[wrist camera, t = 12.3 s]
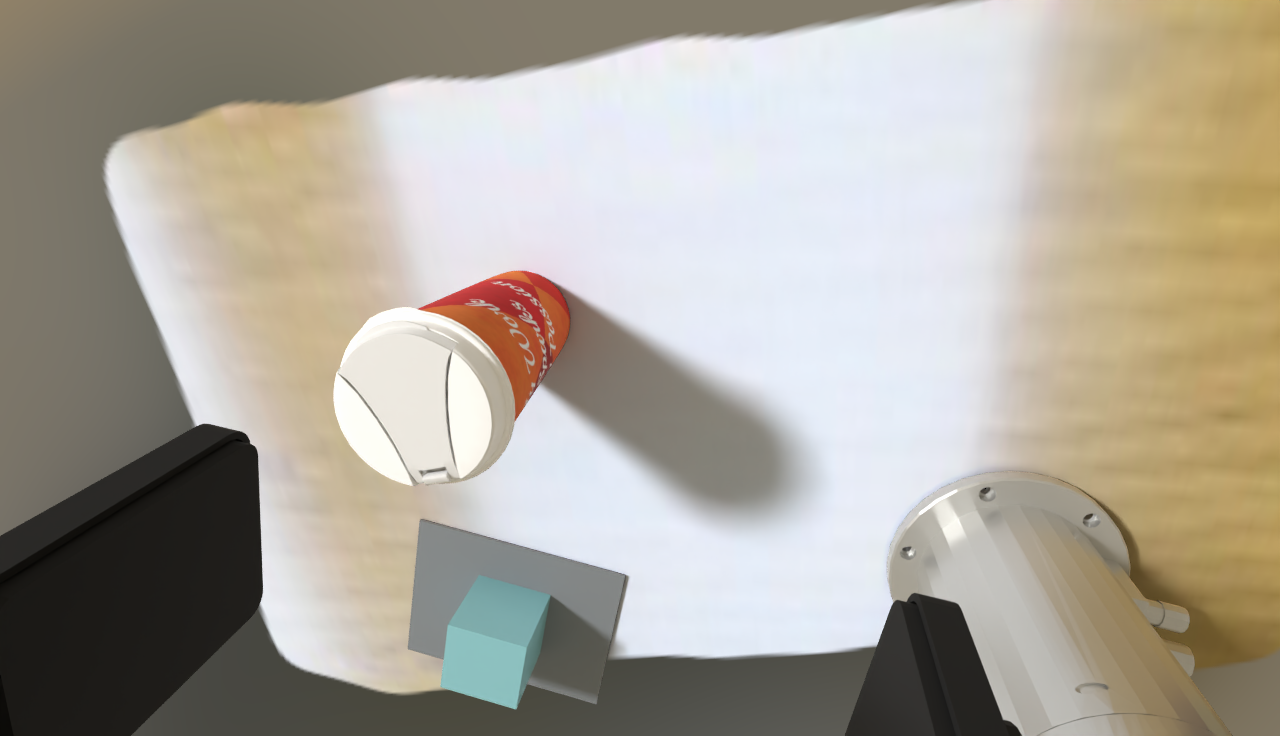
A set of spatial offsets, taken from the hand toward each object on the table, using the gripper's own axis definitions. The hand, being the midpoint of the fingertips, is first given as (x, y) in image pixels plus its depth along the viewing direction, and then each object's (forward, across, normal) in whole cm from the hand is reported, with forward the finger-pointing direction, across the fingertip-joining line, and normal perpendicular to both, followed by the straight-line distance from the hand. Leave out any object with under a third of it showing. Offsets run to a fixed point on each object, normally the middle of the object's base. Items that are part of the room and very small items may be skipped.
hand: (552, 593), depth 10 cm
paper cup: (+30, +10, +6) cm, 32 cm away
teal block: (+30, +8, +28) cm, 41 cm away
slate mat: (+30, +8, +28) cm, 42 cm away
